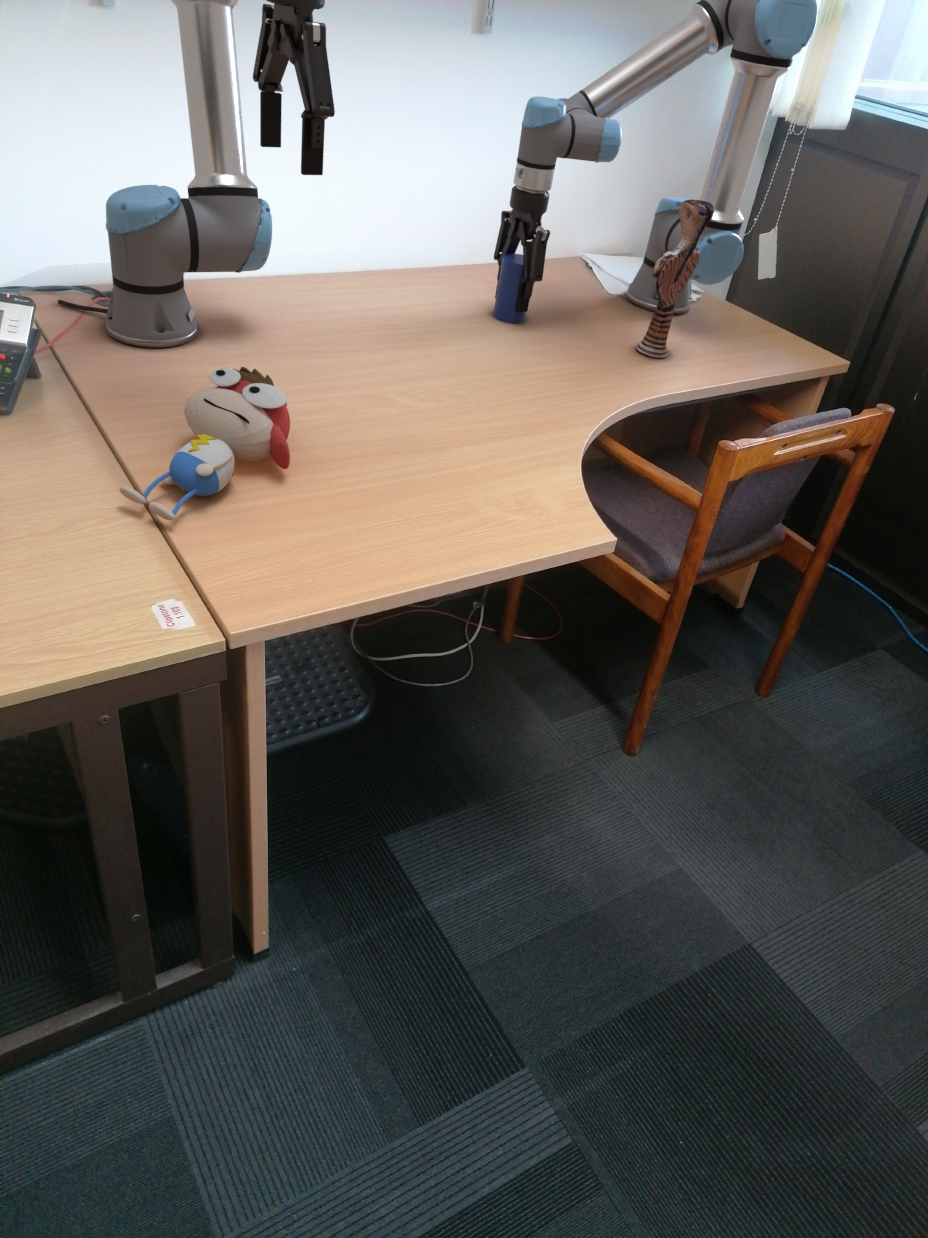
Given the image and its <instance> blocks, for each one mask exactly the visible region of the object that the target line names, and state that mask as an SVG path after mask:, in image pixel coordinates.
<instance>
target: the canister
mask: <svg viewBox="0 0 928 1238" xmlns="http://www.w3.org/2000/svg"><path fill="white" fill-rule="evenodd" d="M529 275H530V274H529ZM521 279H524V271H523V254H522V253H521V254H520V253H515V254H505V255H503V258H502V264H501V270H500V276H499V282H498V281H497V282H498V288H497V287H496V288H497V294H496V293H495V295H496V299H495V300H494V306H493V312H492V315H493V317H494V318H495V319H496V320H498V321H502V322H504V323H509V324H510V323H511V324H520V323H523V322H524V321H525V318H526V314H527V312H520V313H517V312H515V308H516V303H517V297H518V292H519V286H520V280H521Z"/></svg>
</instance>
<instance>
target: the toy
mask: <svg viewBox="0 0 928 1238" xmlns="http://www.w3.org/2000/svg"><path fill="white" fill-rule="evenodd" d="M208 377H209V381H210V382H211V384H213V385H215V387H207V388H201V389H198V390H196V391H195V392H193V393H192V394H190V395H189V396H188V397H187V399H186V401H185V405H184V410H183V411H184V417H185V420H186V423H187V426H188V427H189V429H190V430H191V432H192V433H193V435H194V436H195V437H197V438H196V439H191V440H190V442H188V443H186V444H185V445H183V446H182V447H181V448H179V450H177V451H176V453H175V454H174V455H173V457H172V459H171V460H170V463H169V464H170V465H169V469H168V471H167V472H165V473H163V474H161V475H160V476H158V477H157V478H156V479H154V480H153V481H152V482H151V483H150V484H149V485H148V486H147V487H146V489H145V490H144V491H143V493H142V494H141V493H139V492H138V490H135V489H134V488H132V487H130V486H127V485H121V486H120V487H119V493H120V494H121V495H122V496H123V497H125V498H126V499H128V500H130V501H131V502H133V503H136V504H140V505H144V504H146V503H147V498H148V496H149V495H150V493H151V492H152V491H153V490H154V488H155V487H156V486H157V485H159V484H160V483H161V482H162V483H163V484H165V485H168V486H173V485H176V486H177V487H178V488H180V489H181V490H183V491H184V492H186V494H185V495H184V496H182V497H181V498H180V500H178V502H177V503H176V504H175V506H174V508H173V509H172V511H171V510H170V509H169V508H168V507H167V506H165V505H163V504H161V503H159V502H156V501H151V502H150V503H149V504H148V507H149V509H150V511H151V512H152V513H154V514H155V515H157V516H158V517H160V518H162V519H163V520H166V521H176V519H177V516H176V515H177V514H178V513H179V510H180V508H181V507H182V506H184V504H185V503H186V502H187V501H188V500H189V499H190V498H191V497H193V496H197V497H198V496H199V497H207V496H211V495H214V494H217V493H218V492H220V491H221V490H222V489H224V488H225V487H226V486H227V485H228V484H229V482H230V480H231V479H232V476H233V474H234V471H235V466H236V465H235V464H236V463H235V462H236V461H235V460H238V461H242V462H252V461H253V462H255V461H261V460H264V459H267V457H269V456H270V457H271V459H272V461H273V462H274V463H275V465H276V466H278V467H279V468H280V469H283V470H287V469H288V468H289V467H290V463H291V456H290V455H291V454H290V449H289V444H288V442H287V440H288V438H289V434H290V429H291V417H290V411H289V409H288V407H287V405H288V403H287V401H288V398H287V395H286V393H285V392H284V391H283V390H281V389H280V388H278V387H276V386H275V384H274V381H273V379H272V378H271V376H269V374H266V375H265V376H264V375H263V374H262V373H261V372H259V371H258V370H257V368H253V369H252V371H250V370H249V369H248V368H247V367H244V366H241V367H240V368H239V370H238V369H237V368H234V367H233V368H230V367H223V368H222V367H221V368H217V369H215V370H214V371H212V372H211V373H210V374H209V376H208Z"/></svg>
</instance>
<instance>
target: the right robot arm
mask: <svg viewBox="0 0 928 1238" xmlns="http://www.w3.org/2000/svg"><path fill="white" fill-rule="evenodd" d="M817 22H818V3H817V0H699V1H698V2H696V3H694V4H693V5H692V6H691V9H690V12H689V15H687V16H686V17H684V18H683V19H681V20H680V21H678V22H677V23H676V24H674V25H672V26H671V27H670V28H668V29H667V30H665V31H664V32H663V33H661V34H660V35H658V36H656V38H654V39H653V40H651V41H650V42H648V43H647V44H646V45H644V46H643V47H641V48H640V49H639V50H637V51H636V52H634V53H632V54H630V56H628V57H627V58H625V59H623V60H622V61H621V62H620V63H618V64H617V65H616V66H614V67H612V68H611V69H609V70H608V71H606V72H605V73H604V74H602V75H601V76H599V77H598V78H596V79H595V80H593V81H592V82H591V83H589V84H588V85H586V86H585V87H584V88H582V89H580V90H579V91H577V92H576V93H574V94H573V95H572V96H570V97H568V98H567V97H566V98H565V97H564V98H563V97H562V98H561V97H560V98H553V97H552V98H551V97H548V96H540V95H539V96H532V97H530V98H529V99H528V100H527V102H526V105H525V109H524V112H523V113H524V114H523V118H522V120H521V121H522V122H521V129H520V130H521V132H520V137H519V145H518V151H517V158H516V164H515V170H514V175H513V181H512V182H513V184H514V185H513V186H512V187H511V192H510V198H509V207H510V208H511V210H502V211H501V214H500V216H501V217H500V226H499V231H498V235H497V239H496V244H495V249H494V251H493V252H494V253H493V260H494V261H497V265H498V272H497V277H496V278H497V279H496V280H497V283H496V284H497V285H496V289H495V295H494V299H495V300H496V294H497V288H498V282H499V276H500V270H501V264H502V258H503V255H505V254H516V252H517V249H518V247H519V244H520V245H521V246H522V255H523V271H524V279H521V280H520V286H519V292H518V297H517V303H516V308H515V312H517V313H520V312H526V313H527V312H528V311H529V305H530V300H531V298H532V295H533V290H534V285H535V283H536V282H537V283H538V282H543V279H544V278H543V277H544V270H545V264H546V263H545V262H546V253H547V247H548V246H547V245H548V242H549V238H550V236H551V231H550V230H549V229H545V227H543V226H542V224H543V223H542V217H543V215H544V214H546V212H547V210H548V207H549V200H550V192H549V191H551V190H552V187H553V186H552V185H553V180H554V174H555V169H556V163H557V160H558V158H559V159H570V160H577V161H584V162H585V161H586V162H595V164H598V163H611V162H613V161H614V160H615V159H616V157H617V156H618V154H619V151H620V149H621V145H622V139H623V131H622V127H621V126H622V125H621V123H620V122H619V121H618V120H617V119H613V117H614V116H615V115H617V114H618V113H620V112H621V111H623V110H624V109H626V108H627V107H629V106H630V105H632V104H634V102H636V101H637V100H639V99H641V98H642V97H644V96H645V95H647V94H648V93H649V92H651V91H652V90H654V89H656V88H657V87H659V86H660V85H661V84H663V83H664V82H666V81H667V80H668V79H670V78H672V77H673V76H675V75H676V74H677V73H679V72H681V71H682V70H683V69H685V68H686V67H688V66H689V65H691V64H692V63H694V62H696V61H697V60H698V59H699V58H701V57H703V56H704V55H706V54H707V55H710V56H713V55H716V54H717V53H719V51H721V50H723V49H725V48H726V47H731V46H732V47H731V51H730V54H729V60H730V62H731V64H732V67H733V74H732V77H731V81H730V85H729V88H728V91H727V92H728V93H727V96H726V99H725V102H724V107H723V110H722V114H721V117H720V121H719V123H718V124H719V125H718V128H717V132H716V136H715V140H714V143H713V147H712V150H711V154H710V158H709V161H708V165H707V168H706V172H705V176H704V180H703V183H702V187H701V190H700V194H699V197H698V200H701V201H707V202H709V203H711V204H712V205H713V207H714V214H713V217H712V219H711V220H710V221H709V223H708V224H707V226H706V227H705V229H704V230H703V232H702V234H701V235H700V237H699V240H698V243H697V245H696V248H698V249H699V251H700V256H699V263H698V264H697V266H696V268H695V269H694V271H693V273H692V275H691V277H690V278H689V280H688V282H687V284H686V286H685V287H684V289H683V290H682V291H681V292H678V293H677V298H676V301H675V305H674V312H673V315H681V314H685V313H688V312H689V311H690V308H691V305H692V301H693V297H692V280H693V281H696V282H697V283H699V284H701V285H704V286H705V285H707V286H710V285H711V286H712V285H717V284H719V283H722V282H724V281H725V280H726V279H727V278H728V277H731V276H732V275H733V274H734V273H735V272H736V271H737V269H739V267H740V265H741V262H742V261H743V257H744V250H745V247H744V243H743V240H742V239H741V238H742V237H740V233H741V230H742V226H743V222H744V217H743V216H744V215H742V212H741V210H740V208H741V204H742V200H743V198H744V195H745V191H746V188H747V185H748V181H749V178H750V176H751V175H750V174H751V171H752V168H753V165H754V162H755V158H756V155H757V152H758V149H759V145H760V142H761V138H762V136H763V132H764V128H765V125H766V122H767V118H768V117H769V112H770V109H771V105H772V102H773V98H774V96H775V92H776V89H777V87H778V82H779V79H780V78H781V76H783V75H784V74H785V73H786V72H788V71H789V70H790V69H791V67H792V64H793V61H794V57H795V55H798V54H799V53H800V52H801V51H802V49H803V48H805V47H806V46H807V45H808V44H809V42H810V41H811V39H812V37H813V35H814V32H815V29H816V26H817ZM685 200H691V198H690V199H689V198H684V197H675V196H674V197H673V196H667V197H663V198H661V199H660V201H658V205H657V207H656V210H655V212H654V217H653V221H652V225H651V229H650V233H649V236H648V241H647V245H646V249H645V253H644V256H643V261H642V263H641V266H640V268H639V269H638V271H637V272H636V275H635V276H634V278H633V280H632V281H631V283H630V284H629V286H628V288H627V292H626V299H627V300H628V301H629V302H631V303H632V304H633V305H635V306H637V307H639V308H642V309H645V310H646V311H647V310H648V311H651V312H654V311H655V309H656V307H657V304H658V302H659V298H658V296H657V290H656V282H657V278H654V277H653V275H652V271H653V269H654V265H655V263H656V262H657V260H658V259H660V256H661V255H662V254H663V253H664V252H665V251H670V252H672V251H673V250H674V248H675V247H677V246H678V244H679V242H680V238H681V231H682V228H681V222H680V218H679V207H680V204H681V203H682V202H683V201H685ZM529 274H530V275H529Z"/></svg>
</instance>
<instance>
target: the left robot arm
mask: <svg viewBox="0 0 928 1238" xmlns="http://www.w3.org/2000/svg"><path fill="white" fill-rule="evenodd" d="M240 1H241V0H170V2H171V3H172V4H173V5H174V7H176V10H177V11H176V12H177V20H178V29H179V37H180V38H179V39H180V46H181V47H180V48H181V55H182V56H181V57H182V67H183V74H184V83H185V94H186V102H187V112H188V121H189V129H190V130H189V131H190V140H191V150H192V156H193V157H192V159H193V167H194V168H193V169H194V174H195V175H194V177H193V178H192V180H191V181H190V182H189V183H188V185H187V195H188V196H187V197H185V198H183V197H181V196H180V194H179V192H178V191H177V189H175V188H173V187H171V186H167V185H157V184H141V185H133V186H128V187H125V188H121V189H119V190H117V191H114V192H113V193H111V195H109V197H108V198H107V200H106V203H105V229H106V231H107V238H108V249H109V257H110V258H109V259H110V266H111V267H110V268H111V277H112V291H111V295H110V300H109V303H108V307H107V308H102V307H95V306H89V305H81V304H77V303H73V302H69V301H67V300H63V299H57V304H58V305H62V306H64V307H68V308H72V309H76V310H81V311H85V312H86V311H87V312H95V313H102V314H106V315H105V326H106V328H105V329H106V332H107V334H108V335H109V336H110V337H111V338H112V339H114V340H116V341H117V342H120V343H123V344H126V345H130V346H133V347H140V348H152V349H157V348H160V349H163V348H171V347H177V346H182V345H184V344H187V343H189V342H191V341H193V340H194V339H195V338H196V337H197V335H198V324H197V320H196V317H195V316H196V311H195V310H194V306H193V305H192V306H191V304H190V300H189V298H188V296H187V293H186V290H185V278H184V276H185V273H239V274H240V273H242V272H253V271H258V270H261V269H262V268H263V267H264V266H265V264H266V263H267V261H268V258H269V255H270V251H271V248H272V240H273V219H272V214H271V207H270V205H269V203H268V202H267V201H266V200H265V199H263V198H259V191H258V186H257V185H256V184H255V183H254V182H253V181H252V180H251V179H250V178H249V176H248V167H247V158H246V156H247V155H246V145H245V136H244V135H245V134H244V124H243V112H242V102H241V91H240V90H241V89H240V79H239V78H240V77H239V68H238V56H237V55H238V54H237V45H236V34H235V23H234V12H233V11H234V9H235V7H236V6H237V5H238V4H239V3H240ZM265 1H266V2H268V3H269V4H268V3H263V4H262V7H261V25H260V31H259V37H258V43H257V50H256V53H255V61H254V65H253V71H252V80H253V82H254V83H257V86H258V90H259V91H260V93H259V94H260V95H259V96H260V97H259V99H260V100H259V101H260V104H259V108H260V110H259V111H260V116H259V119H260V120H259V121H260V122H259V125H260V126H259V127H260V128H259V129H260V131H259V135H260V137H259V139H260V140H259V141H260V144H259V145H260V147H262V148H282V104H283V103H282V99H283V98H282V97H283V96H282V95H283V94H282V92H284V89H283V86H282V81H283V78H284V75H285V73H286V69H287V67H288V65H289V62H290V64H292V65H293V66H294V71H295V75H296V78H297V83H298V87H299V92H300V95H301V100H302V104H303V107H304V109H303V111H302V113H301V114H300V118H301V149H300V150H301V152H300V153H301V154H300V156H301V157H300V174H301V175H302V176H323V175H324V151H325V127H326V126H325V123H326V120H328V118H333V117H335V113H336V110H335V103H334V96H333V95H334V94H333V88H332V81H331V71H330V64H329V58H328V50H327V27H326V23H325V22H317V21H314V14H313V13H314V11H315V10H321V9H323V8H324V7H325V5H326V0H265ZM280 92H281V93H280Z"/></svg>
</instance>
